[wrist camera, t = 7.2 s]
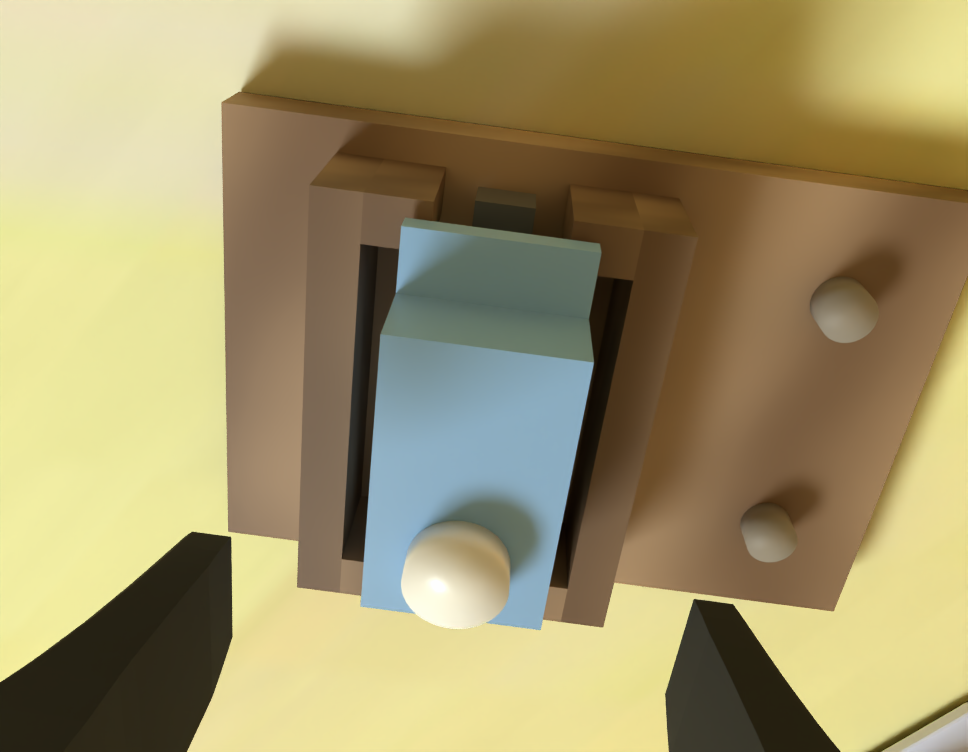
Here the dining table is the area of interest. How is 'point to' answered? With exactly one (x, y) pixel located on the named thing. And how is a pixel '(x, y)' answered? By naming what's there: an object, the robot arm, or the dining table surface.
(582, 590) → the board
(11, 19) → the dining table surface
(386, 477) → the block
